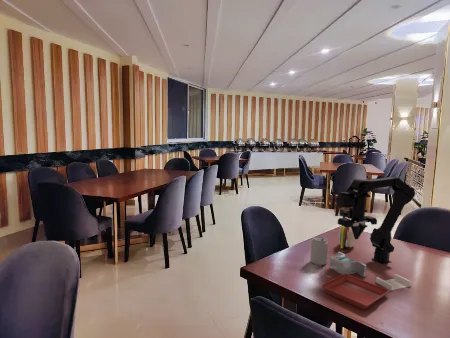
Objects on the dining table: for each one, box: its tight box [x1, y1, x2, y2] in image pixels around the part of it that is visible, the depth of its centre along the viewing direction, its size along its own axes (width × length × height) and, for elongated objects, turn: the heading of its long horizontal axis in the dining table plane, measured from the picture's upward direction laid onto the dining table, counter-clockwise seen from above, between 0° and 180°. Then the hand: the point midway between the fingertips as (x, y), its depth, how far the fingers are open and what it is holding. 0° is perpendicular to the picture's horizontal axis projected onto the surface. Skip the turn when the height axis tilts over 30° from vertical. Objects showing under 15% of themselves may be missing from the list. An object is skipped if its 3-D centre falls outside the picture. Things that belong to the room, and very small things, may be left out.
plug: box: [341, 257, 356, 262], centre depth 137 cm, size 7×4×4 cm, turn 112°
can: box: [309, 236, 329, 266], centre depth 145 cm, size 8×8×12 cm
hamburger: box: [338, 225, 357, 249], centre depth 168 cm, size 12×8×12 cm
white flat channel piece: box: [375, 273, 412, 291], centre depth 124 cm, size 11×7×2 cm, turn 111°
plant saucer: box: [321, 274, 390, 310], centre depth 116 cm, size 18×18×3 cm
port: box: [329, 251, 367, 278], centre depth 137 cm, size 8×16×6 cm, turn 21°
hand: (356, 239), depth 144 cm, fingers closed
